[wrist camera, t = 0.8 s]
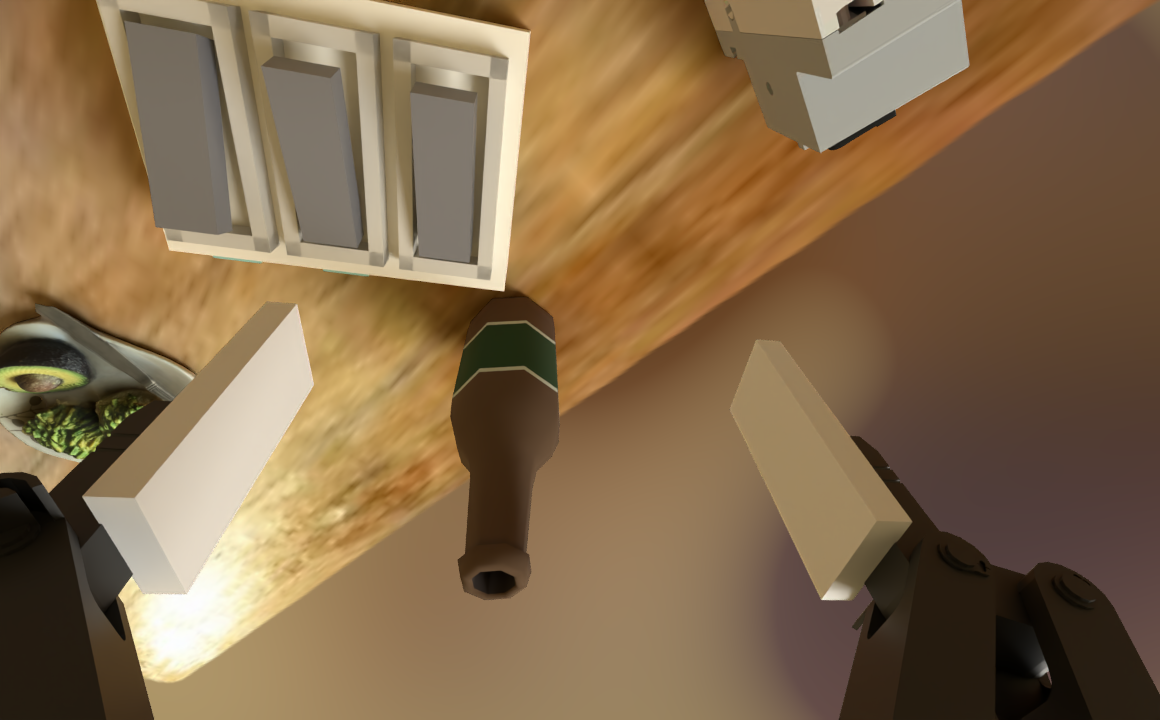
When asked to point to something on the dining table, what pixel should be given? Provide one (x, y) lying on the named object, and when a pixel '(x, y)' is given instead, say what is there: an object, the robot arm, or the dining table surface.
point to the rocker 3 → (444, 169)
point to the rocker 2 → (316, 148)
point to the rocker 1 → (181, 127)
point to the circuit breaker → (840, 59)
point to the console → (375, 118)
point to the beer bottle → (504, 437)
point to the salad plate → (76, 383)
